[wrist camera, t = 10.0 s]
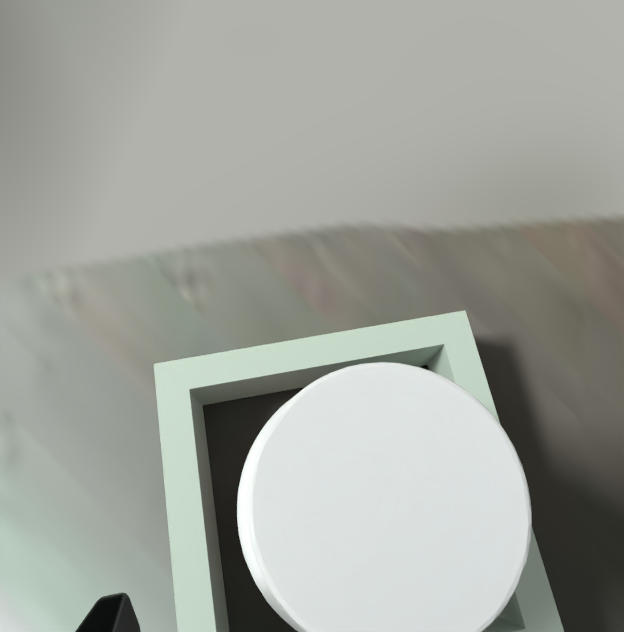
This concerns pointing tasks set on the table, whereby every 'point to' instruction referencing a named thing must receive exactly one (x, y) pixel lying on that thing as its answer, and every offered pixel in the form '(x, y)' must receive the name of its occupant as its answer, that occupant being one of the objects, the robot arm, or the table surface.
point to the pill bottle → (384, 506)
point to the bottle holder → (285, 374)
